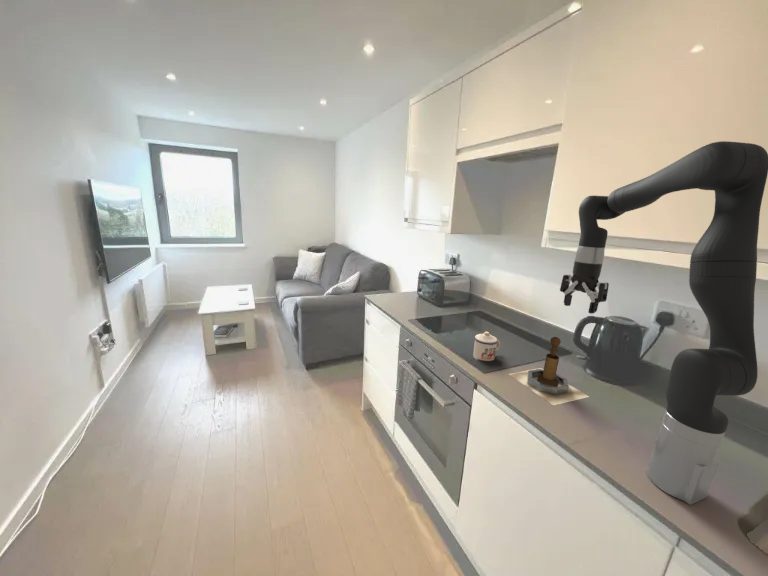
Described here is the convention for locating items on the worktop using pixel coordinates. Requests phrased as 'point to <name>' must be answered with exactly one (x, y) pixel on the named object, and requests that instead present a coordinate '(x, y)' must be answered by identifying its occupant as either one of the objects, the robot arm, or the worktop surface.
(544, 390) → the steel collar
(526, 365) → the worktop surface
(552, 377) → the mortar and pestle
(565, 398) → the beech board
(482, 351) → the teacup with lid
